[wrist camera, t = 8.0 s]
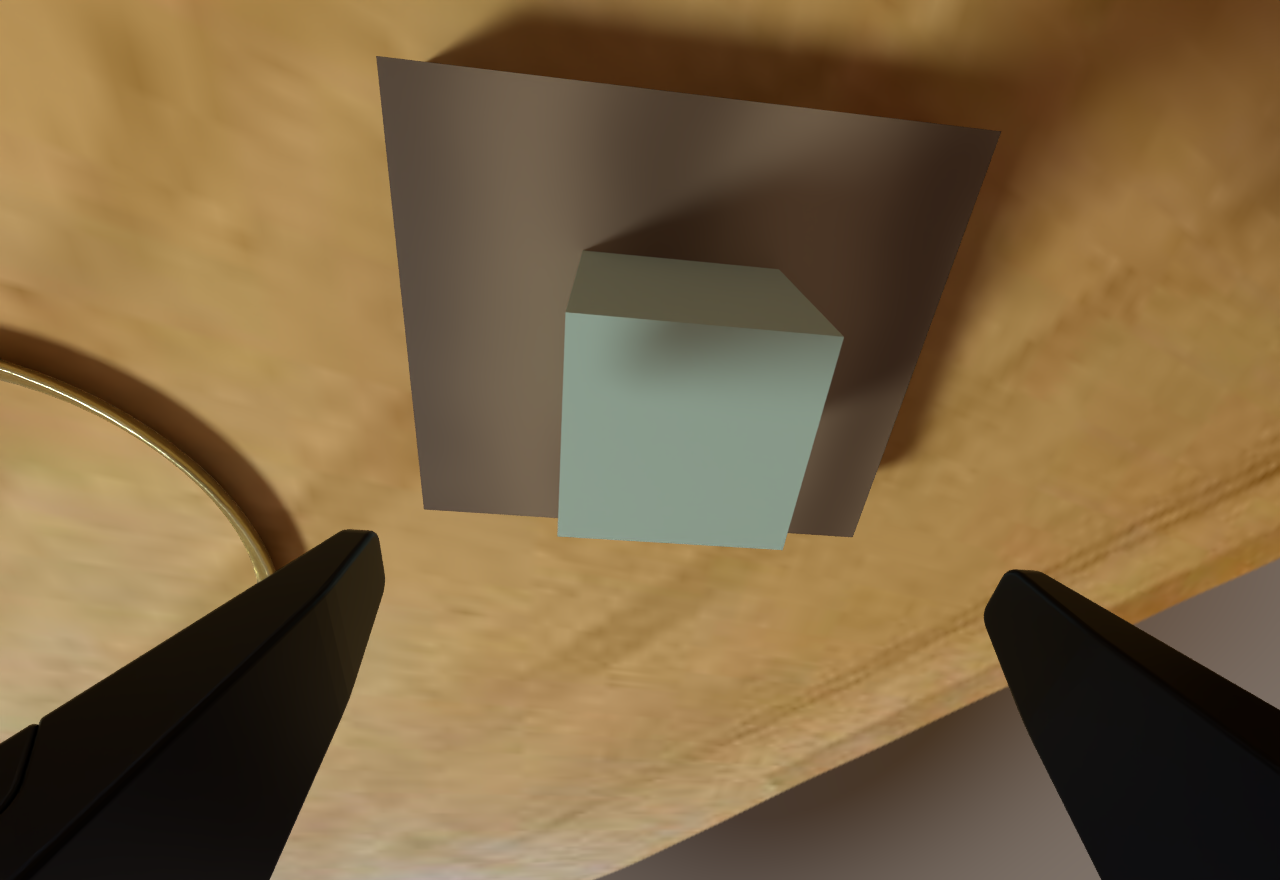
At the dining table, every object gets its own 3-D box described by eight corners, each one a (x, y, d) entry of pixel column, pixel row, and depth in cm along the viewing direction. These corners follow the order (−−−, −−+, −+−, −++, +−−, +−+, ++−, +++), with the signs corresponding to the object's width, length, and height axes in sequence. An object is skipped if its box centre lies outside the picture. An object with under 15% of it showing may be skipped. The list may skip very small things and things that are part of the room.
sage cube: (778, 269, 15) (844, 336, 10) (742, 438, 17) (782, 549, 13) (582, 250, 14) (565, 312, 10) (574, 425, 17) (557, 536, 12)
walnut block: (938, 127, 16) (1001, 131, 13) (825, 485, 22) (852, 537, 19) (419, 65, 15) (376, 56, 12) (448, 459, 21) (424, 509, 18)
